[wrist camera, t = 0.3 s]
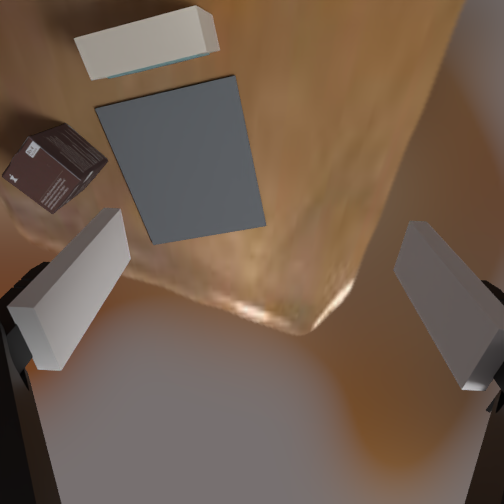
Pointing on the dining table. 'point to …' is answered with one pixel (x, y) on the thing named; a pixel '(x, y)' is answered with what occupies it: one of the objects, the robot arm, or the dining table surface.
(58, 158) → the box
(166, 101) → the mat
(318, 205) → the dining table surface
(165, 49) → the light grey flat block
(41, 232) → the dining table surface
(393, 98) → the dining table surface
